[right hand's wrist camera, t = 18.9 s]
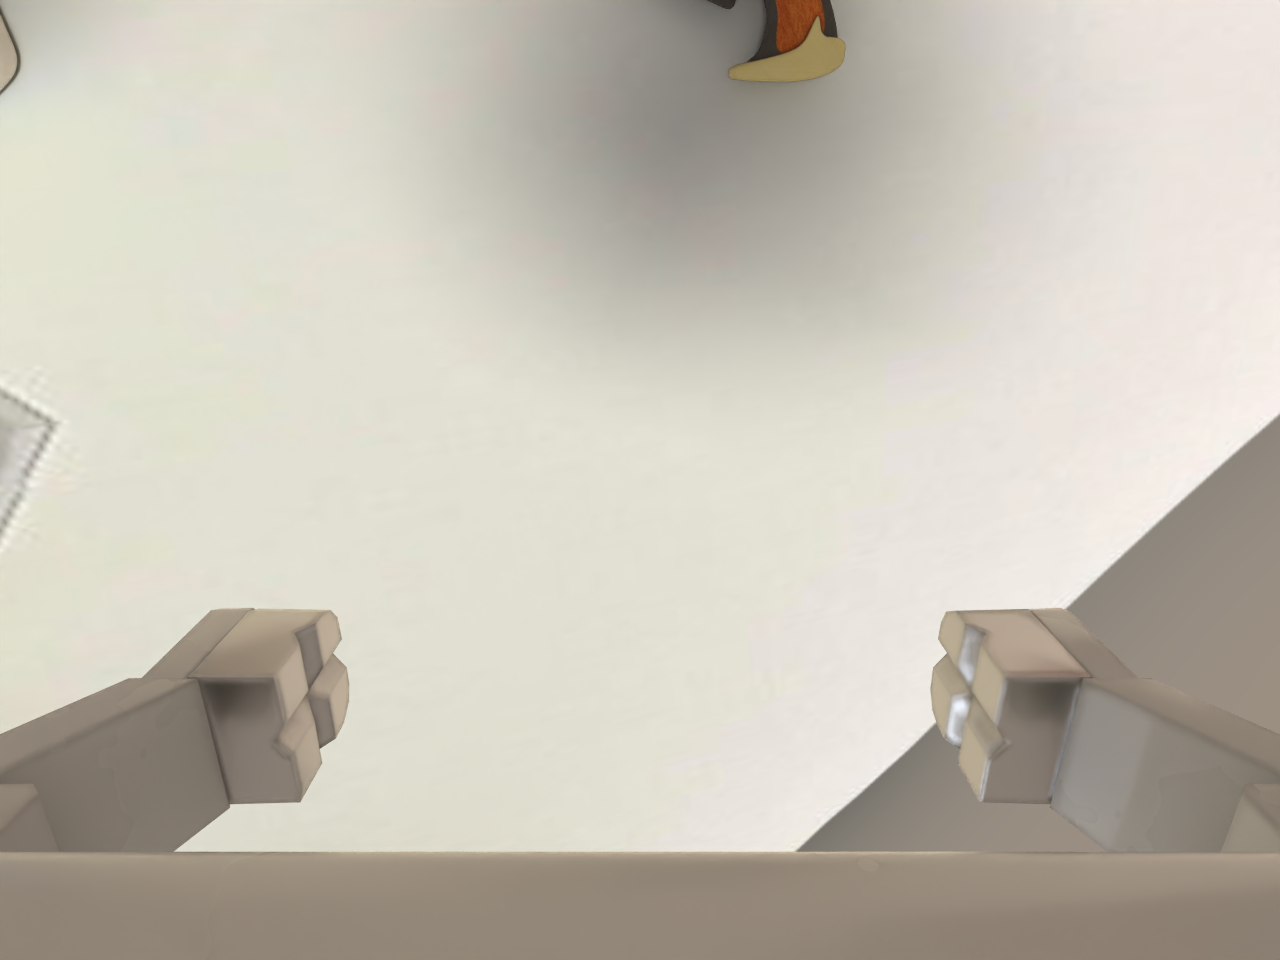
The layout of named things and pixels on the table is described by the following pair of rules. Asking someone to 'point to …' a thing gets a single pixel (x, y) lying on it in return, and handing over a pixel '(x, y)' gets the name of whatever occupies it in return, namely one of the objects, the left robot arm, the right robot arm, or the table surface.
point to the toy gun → (793, 42)
